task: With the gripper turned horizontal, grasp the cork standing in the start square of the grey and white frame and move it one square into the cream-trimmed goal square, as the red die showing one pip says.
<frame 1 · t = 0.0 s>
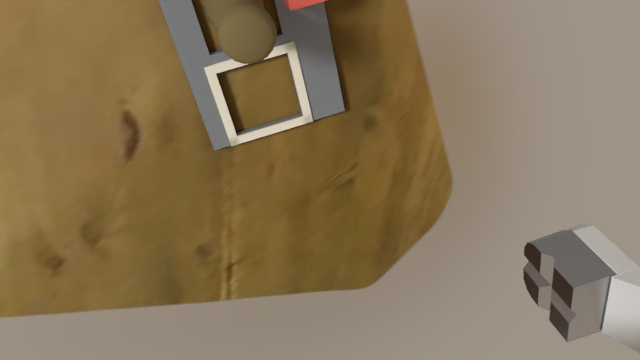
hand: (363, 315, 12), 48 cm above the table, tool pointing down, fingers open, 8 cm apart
grey and white frame: (257, 48, 58), on the table
cork: (234, 5, 55), resting in grey and white frame
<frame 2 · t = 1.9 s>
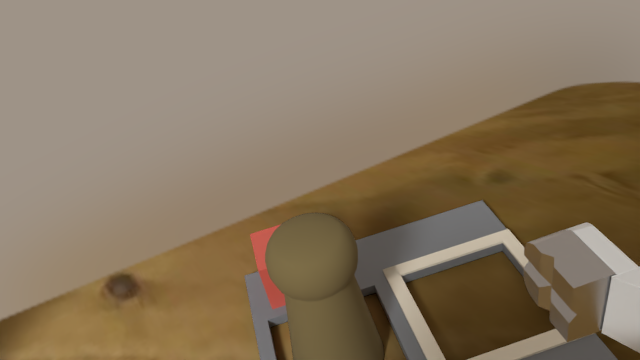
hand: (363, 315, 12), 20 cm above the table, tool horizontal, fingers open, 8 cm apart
red die: (293, 281, 40), resting on grey and white frame
grey and white frame: (404, 319, 37), on the table
cork: (339, 356, 36), resting in grey and white frame
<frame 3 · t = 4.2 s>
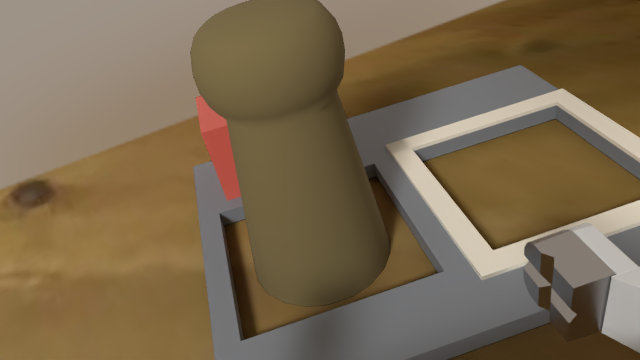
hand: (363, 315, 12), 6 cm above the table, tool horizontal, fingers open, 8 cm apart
red die: (259, 167, 29), resting on grey and white frame
grey and white frame: (418, 203, 25), on the table
cork: (322, 255, 24), resting in grey and white frame
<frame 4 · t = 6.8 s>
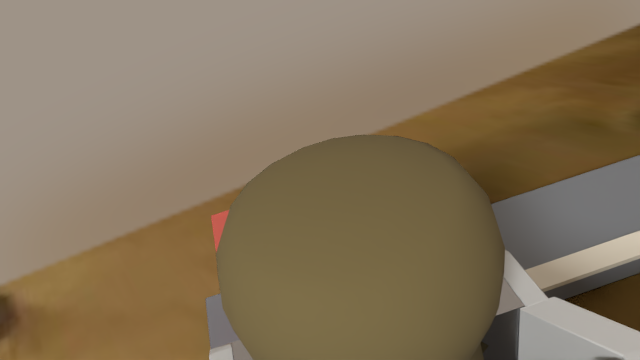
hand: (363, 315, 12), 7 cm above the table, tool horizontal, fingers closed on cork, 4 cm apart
red die: (299, 310, 20), resting on grey and white frame
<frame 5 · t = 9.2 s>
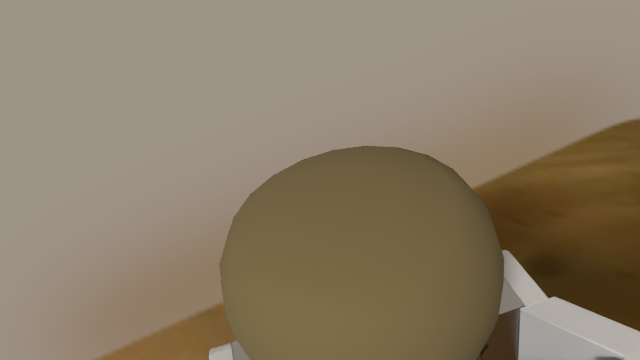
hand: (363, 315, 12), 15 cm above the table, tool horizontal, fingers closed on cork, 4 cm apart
when the fingers open (7 cm above the table, at t = 12.1 s): cork stays where it is, resting in grey and white frame.
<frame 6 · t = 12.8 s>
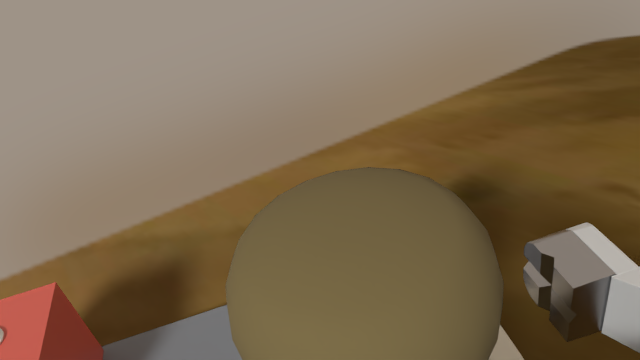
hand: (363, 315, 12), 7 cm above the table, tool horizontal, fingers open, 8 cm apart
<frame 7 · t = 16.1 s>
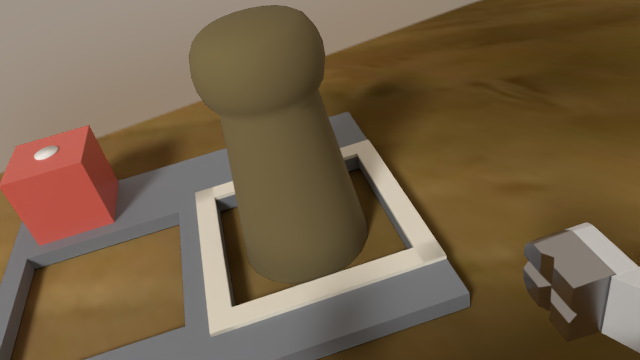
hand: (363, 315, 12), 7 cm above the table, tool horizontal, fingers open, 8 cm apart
red die: (81, 212, 30), resting on grey and white frame
grey and white frame: (206, 253, 26), on the table
cork: (307, 239, 26), resting in grey and white frame
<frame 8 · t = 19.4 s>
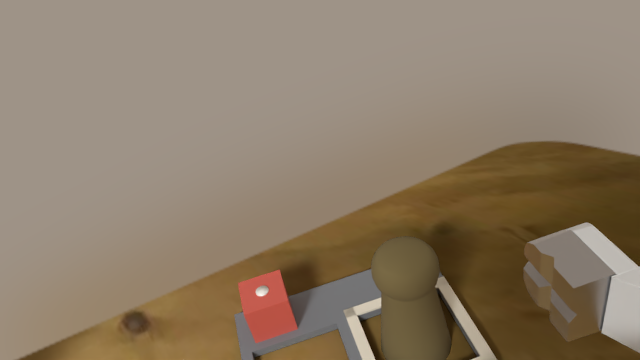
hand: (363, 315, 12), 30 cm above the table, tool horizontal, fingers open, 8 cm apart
red die: (273, 319, 51), resting on grey and white frame
grey and white frame: (358, 351, 47), on the table
cork: (415, 343, 47), resting in grey and white frame
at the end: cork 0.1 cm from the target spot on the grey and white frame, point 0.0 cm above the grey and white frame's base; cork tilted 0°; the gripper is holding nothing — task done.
